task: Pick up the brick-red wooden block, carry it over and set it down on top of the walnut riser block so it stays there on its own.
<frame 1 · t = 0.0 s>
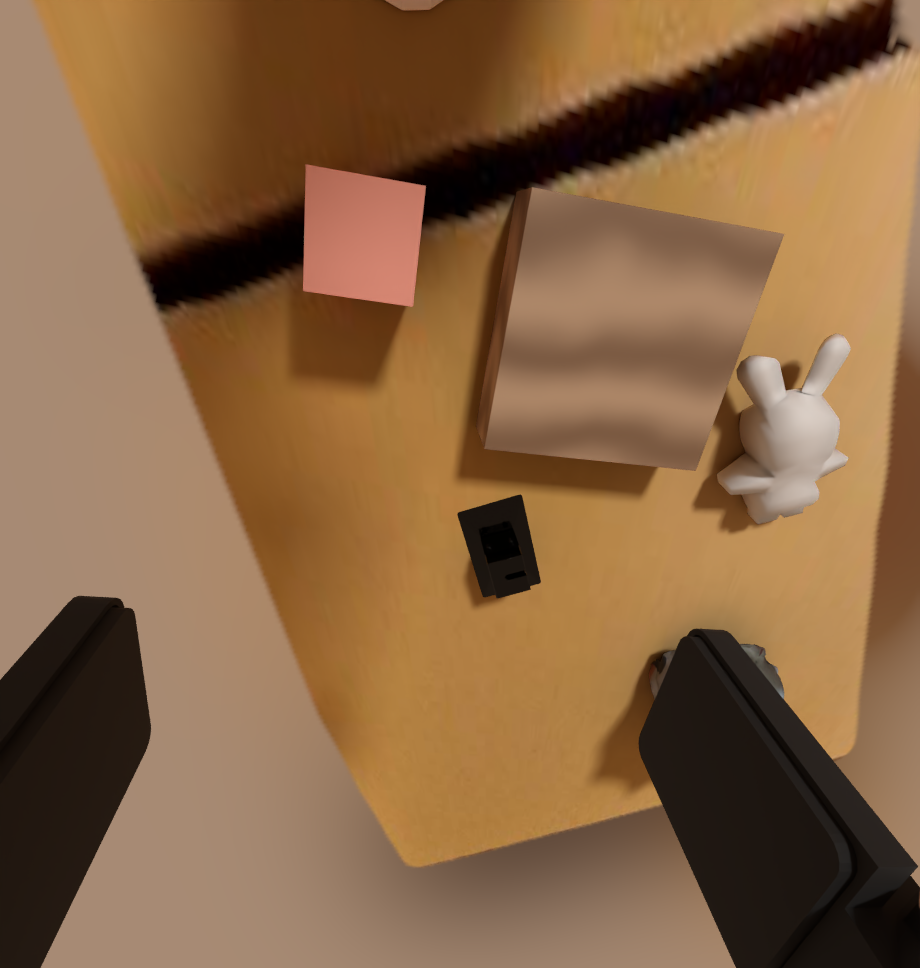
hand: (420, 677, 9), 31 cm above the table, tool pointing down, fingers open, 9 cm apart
walnut riser: (599, 334, 39), on the table
black boxy gadget: (499, 545, 46), on the table
red block: (369, 237, 34), on the table
lucky cat figurine: (697, 676, 56), on the table
bunny figurine: (763, 426, 43), on the table
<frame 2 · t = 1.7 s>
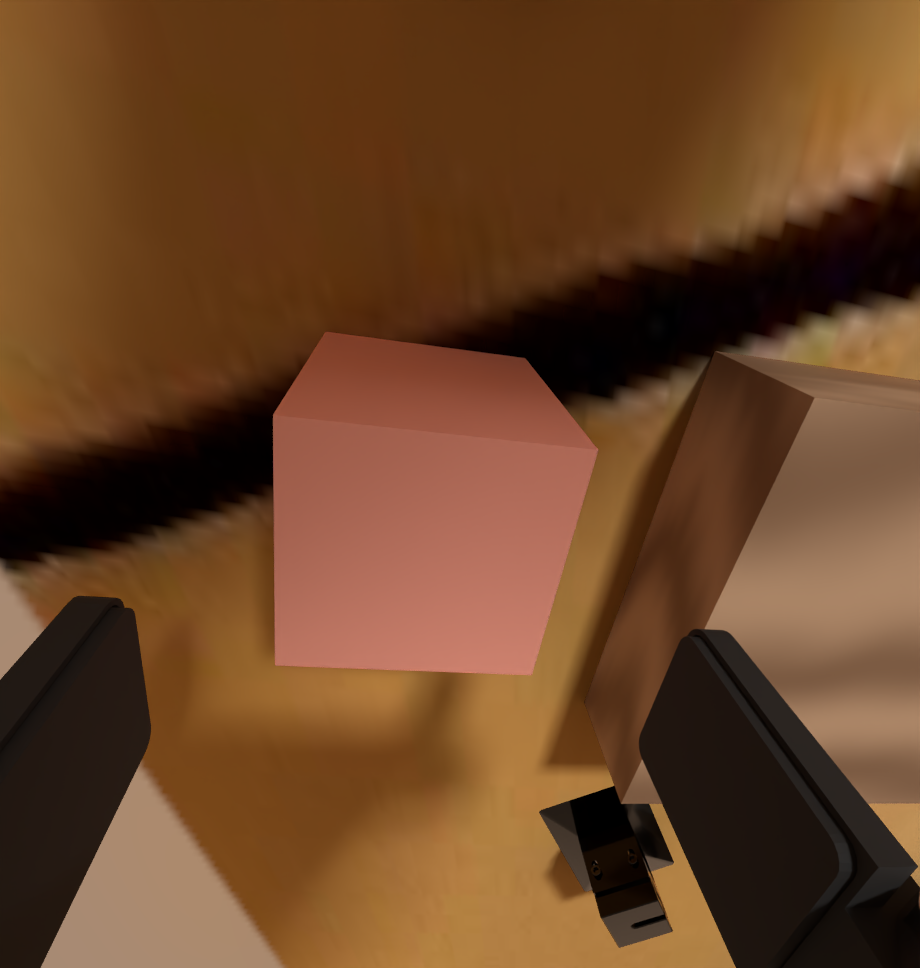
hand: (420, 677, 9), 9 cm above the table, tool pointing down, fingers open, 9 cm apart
walnut riser: (813, 565, 22), on the table
black boxy gadget: (605, 825, 30), on the table
red block: (416, 436, 17), on the table
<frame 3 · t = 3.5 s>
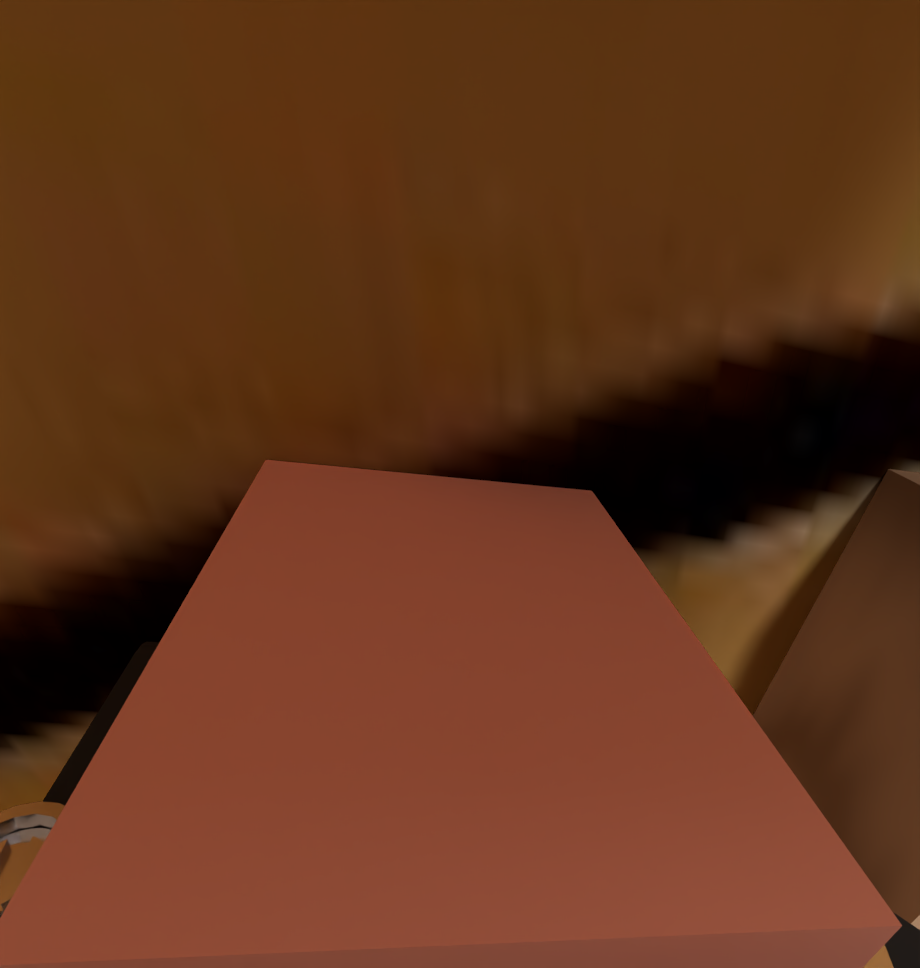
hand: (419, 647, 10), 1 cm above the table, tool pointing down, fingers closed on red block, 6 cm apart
red block: (417, 606, 11), on the table, touching gripper
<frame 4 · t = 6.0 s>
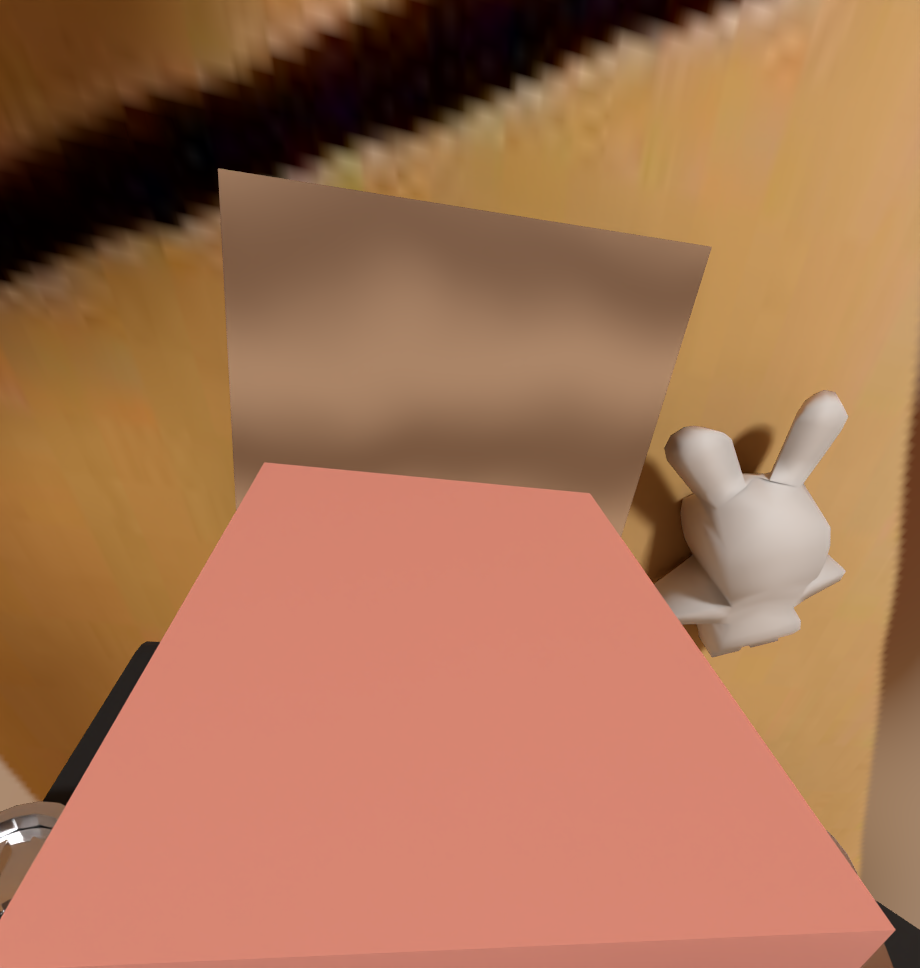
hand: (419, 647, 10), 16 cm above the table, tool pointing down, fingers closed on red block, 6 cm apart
walnut riser: (441, 403, 25), on the table
red block: (416, 608, 11), point 15 cm above the table, touching gripper
bunny figurine: (718, 517, 29), on the table
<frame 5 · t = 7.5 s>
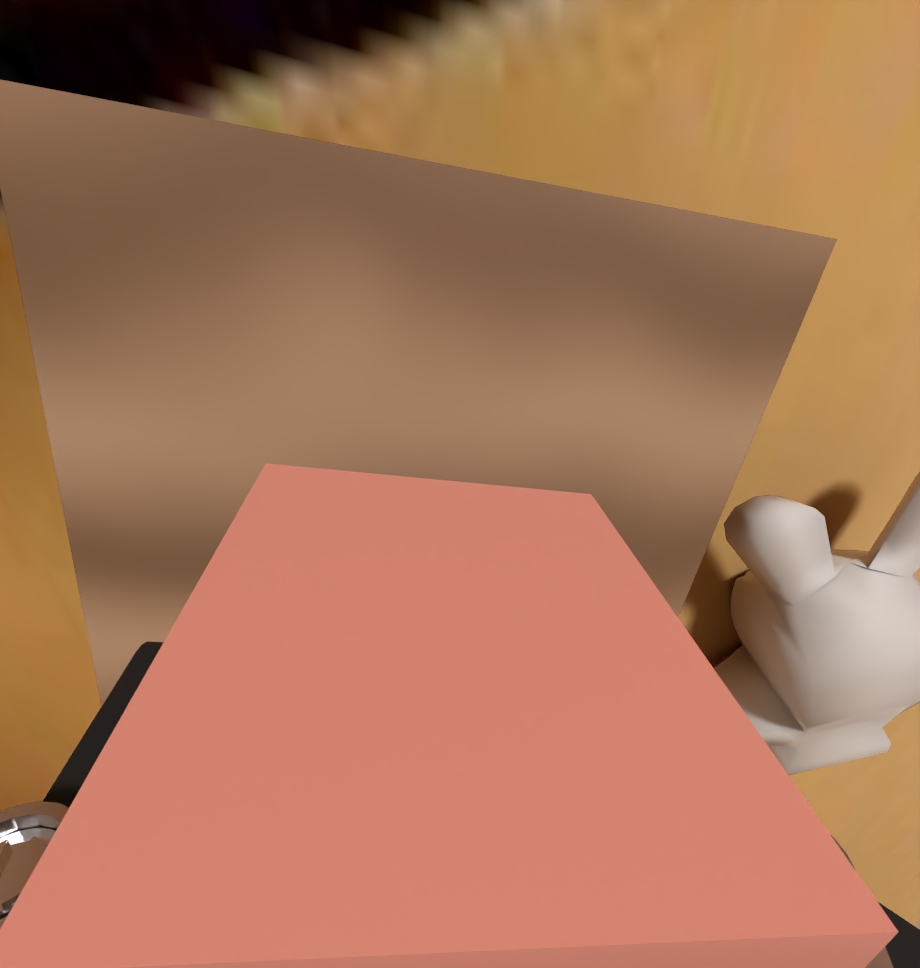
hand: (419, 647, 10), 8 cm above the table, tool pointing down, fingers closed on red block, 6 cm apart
walnut riser: (410, 454, 18), on the table
red block: (417, 609, 11), point 7 cm above the table, touching gripper
bunny figurine: (777, 596, 22), on the table
when the fingers open (7 cm above the table, at t = 8.5 s): red block drops 2 cm, point 4 cm above the table.
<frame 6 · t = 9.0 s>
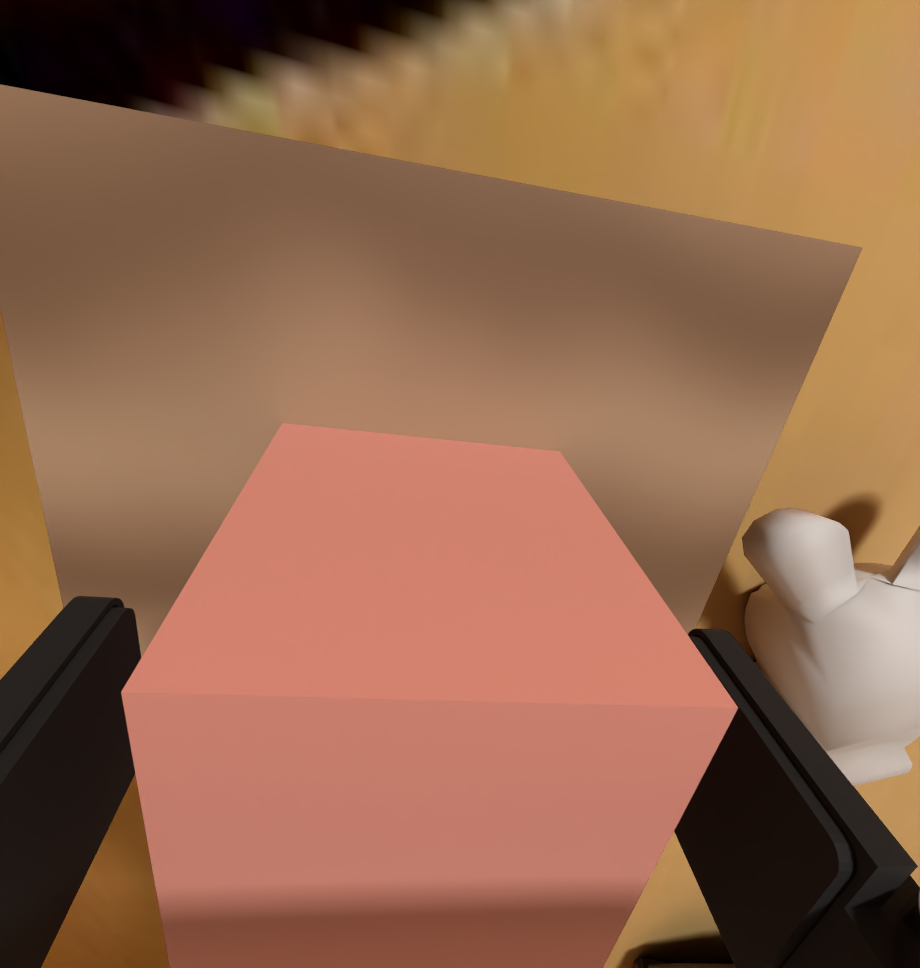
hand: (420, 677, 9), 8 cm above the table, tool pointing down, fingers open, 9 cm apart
walnut riser: (411, 468, 17), on the table
red block: (411, 554, 13), point 4 cm above the table
lucky cat figurine: (714, 958, 34), on the table
bunny figurine: (793, 610, 21), on the table
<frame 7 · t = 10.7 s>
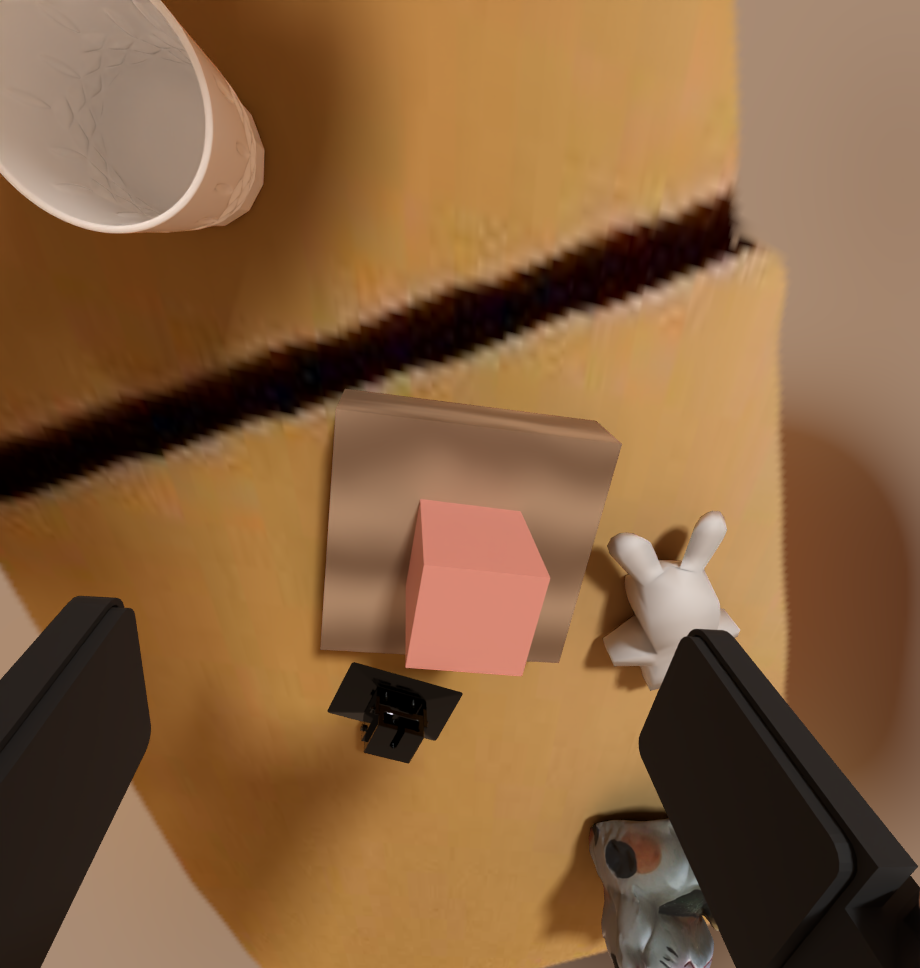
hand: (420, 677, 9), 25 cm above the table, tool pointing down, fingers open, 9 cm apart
walnut riser: (455, 515, 36), on the table
black boxy gadget: (395, 695, 43), on the table
red block: (462, 549, 32), point 4 cm above the table
lucky cat figurine: (645, 831, 52), on the table
bunny figurine: (653, 587, 40), on the table
white cup: (198, 154, 27), on the table
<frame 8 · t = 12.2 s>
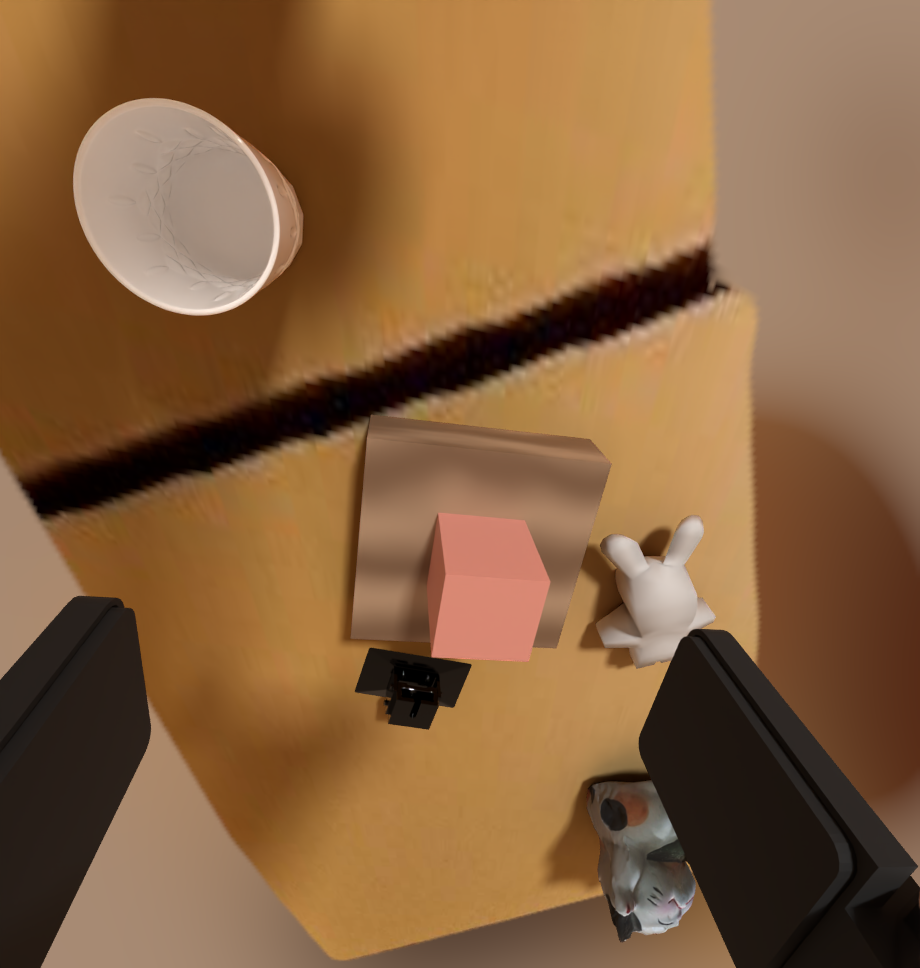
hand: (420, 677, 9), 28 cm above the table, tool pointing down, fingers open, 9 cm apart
walnut riser: (465, 520, 41), on the table
black boxy gadget: (412, 672, 48), on the table
red block: (474, 553, 37), point 4 cm above the table
lucky cat figurine: (637, 791, 59), on the table
bunny figurine: (640, 579, 46), on the table
white cup: (245, 218, 31), on the table
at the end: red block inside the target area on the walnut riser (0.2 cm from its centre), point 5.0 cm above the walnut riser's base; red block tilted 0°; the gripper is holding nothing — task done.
